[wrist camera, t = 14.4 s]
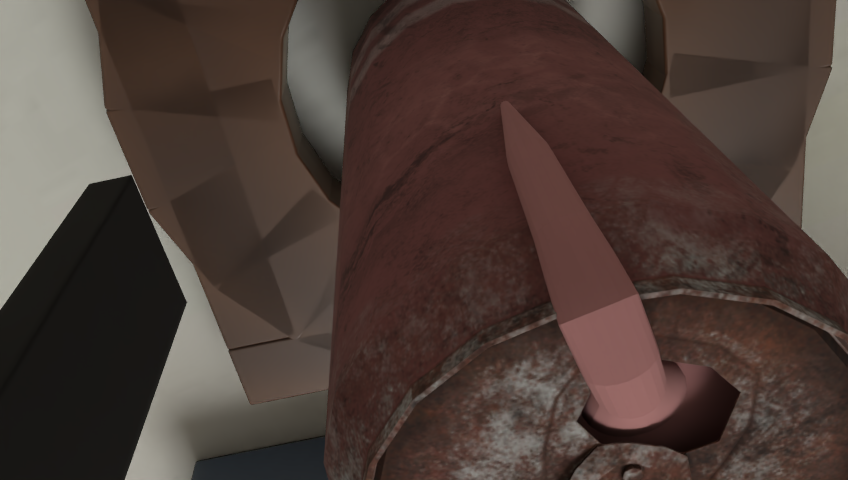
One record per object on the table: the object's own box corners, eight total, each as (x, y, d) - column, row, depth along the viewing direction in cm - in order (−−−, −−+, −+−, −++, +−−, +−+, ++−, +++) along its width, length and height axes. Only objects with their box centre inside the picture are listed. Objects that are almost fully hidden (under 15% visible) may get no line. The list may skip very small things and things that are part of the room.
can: (534, -100, 18) (902, 107, 6) (616, 134, 21) (976, 603, 9) (299, 16, 19) (176, 412, 6) (411, 224, 22) (470, 764, 9)
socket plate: (-16, -245, 16) (-50, -250, 14) (825, -445, 15) (869, -469, 14) (244, 389, 24) (237, 423, 23) (791, 280, 23) (817, 308, 22)
